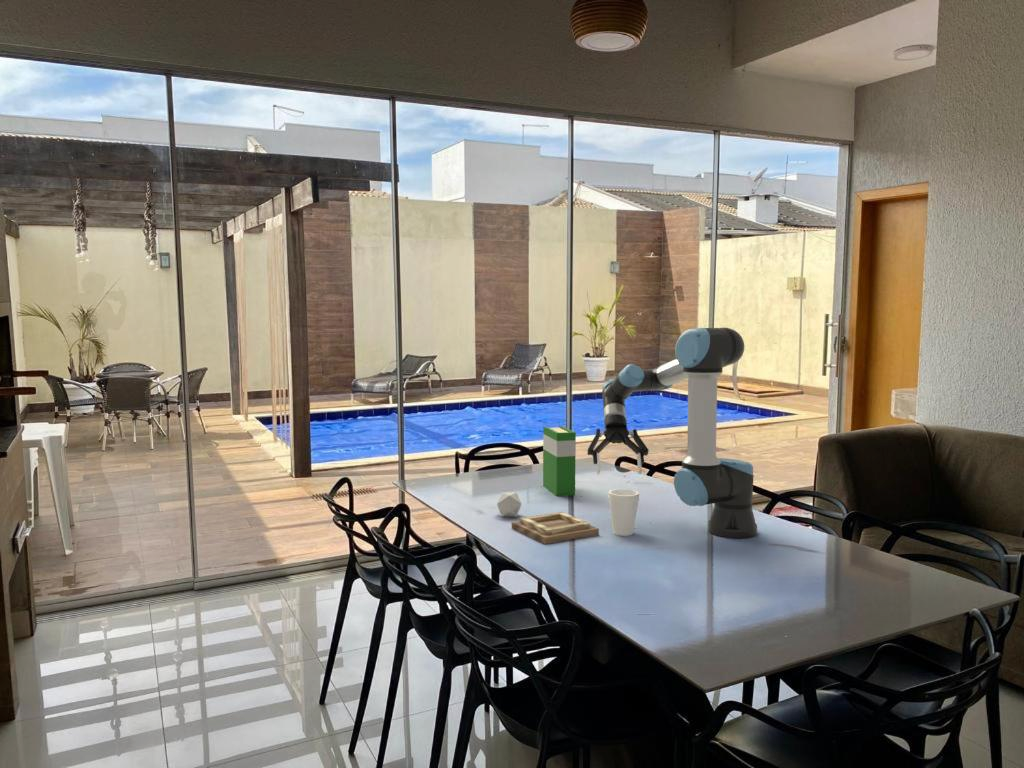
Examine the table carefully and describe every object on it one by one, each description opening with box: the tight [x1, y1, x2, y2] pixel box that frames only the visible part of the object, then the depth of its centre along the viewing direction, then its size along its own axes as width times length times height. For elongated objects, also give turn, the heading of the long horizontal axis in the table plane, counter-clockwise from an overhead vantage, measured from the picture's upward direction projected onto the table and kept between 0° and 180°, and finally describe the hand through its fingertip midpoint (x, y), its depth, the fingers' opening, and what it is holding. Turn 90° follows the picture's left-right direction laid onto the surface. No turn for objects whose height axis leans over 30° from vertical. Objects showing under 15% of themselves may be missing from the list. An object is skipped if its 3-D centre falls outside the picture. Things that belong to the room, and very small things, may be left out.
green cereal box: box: [542, 425, 577, 497], centre depth 310 cm, size 18×7×24 cm, turn 14°
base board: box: [511, 511, 600, 545], centre depth 254 cm, size 20×20×4 cm
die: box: [496, 492, 522, 518], centre depth 274 cm, size 8×9×10 cm
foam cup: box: [608, 488, 640, 537], centre depth 252 cm, size 10×9×13 cm
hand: (619, 471), depth 263 cm, fingers open, 13 cm apart
